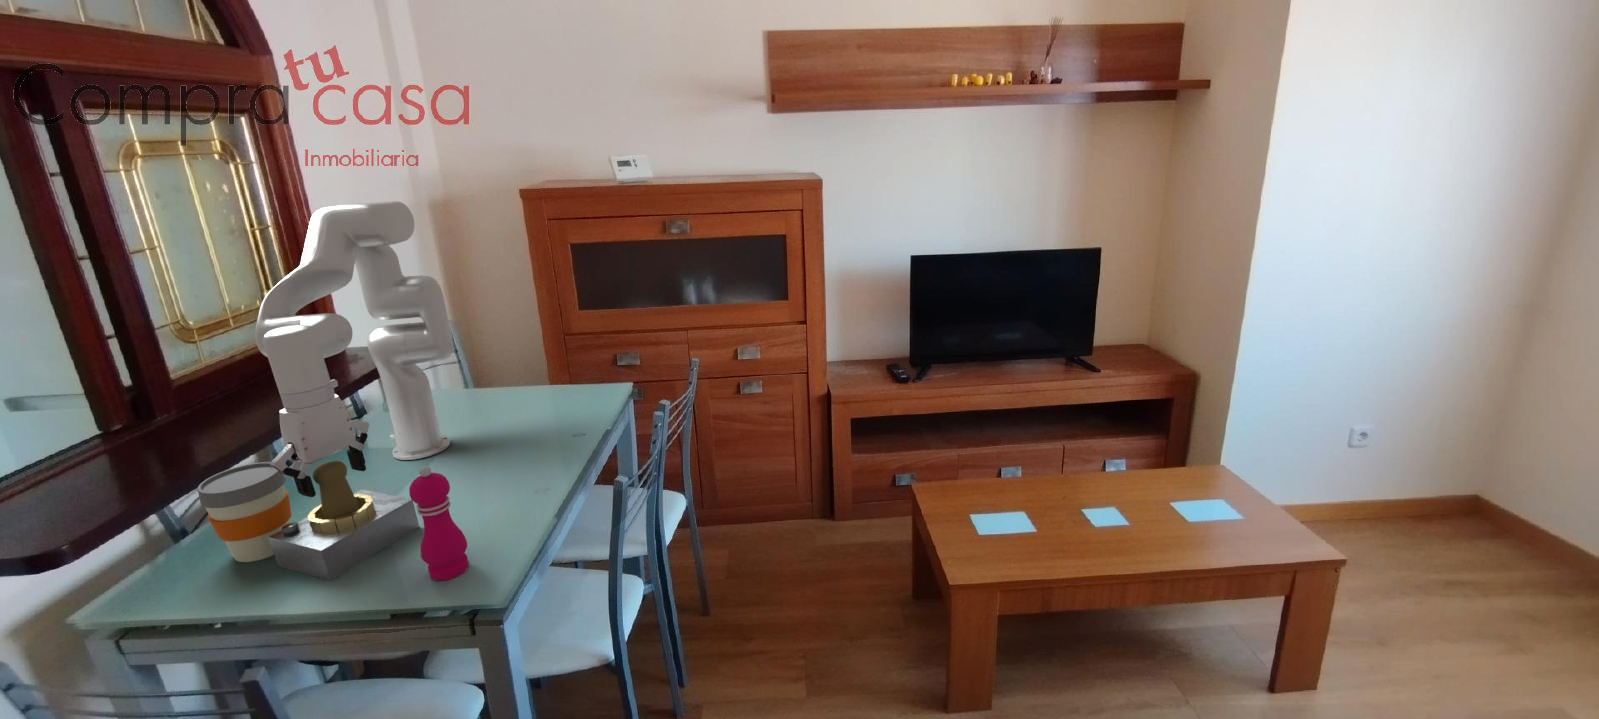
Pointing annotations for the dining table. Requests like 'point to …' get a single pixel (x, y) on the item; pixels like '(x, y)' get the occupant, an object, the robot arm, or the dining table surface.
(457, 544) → the pepper mill
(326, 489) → the cork
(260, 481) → the reusable coffee cup
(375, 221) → the robot arm
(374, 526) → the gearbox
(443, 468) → the dining table surface
